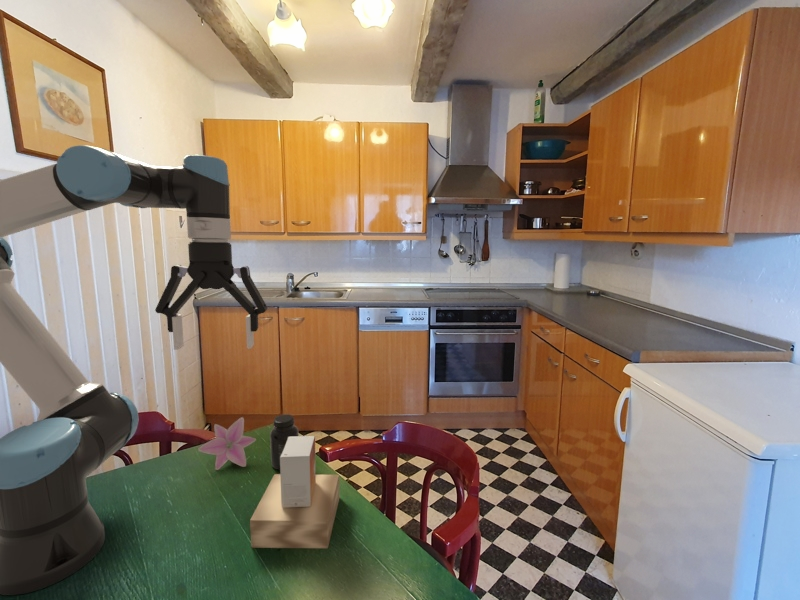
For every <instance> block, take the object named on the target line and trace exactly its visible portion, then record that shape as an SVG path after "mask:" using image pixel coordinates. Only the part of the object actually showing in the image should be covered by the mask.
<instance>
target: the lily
mask: <svg viewBox="0 0 800 600" xmlns="http://www.w3.org/2000/svg"><path fill="white" fill-rule="evenodd" d="M213 429H214V430H213V431H214V435H215V438H212V439H211V440H209V441H207V442H206V443H204V444H202V445H200V446H199V447H198V449H197V450H198V452H200V453H202V454H203V453H204V454H208V455H214V456H215V465H214V470H215V471H219V470H220V469H221V468H222V467H223V466H224V465H225V464H226V463H227V462H228V461H230V462H232V463H233V464H236V466H237V465H238V466H240V467H243V468H244V467H247V457H246V452H245V450H244V449H245V448H247V447H248V446H250V445H252V444H253V443H255V441H257V439H256V438H255V437H252V436H247V435H244V429H245V418H244V416H242V417H240V418H238V419H237V420H235V421H234V422H233V423H232V424H231V425H230V426H229V427H228V428H225V427H224V426H223V425H220V424H217V423H214V427H213Z"/></svg>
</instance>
